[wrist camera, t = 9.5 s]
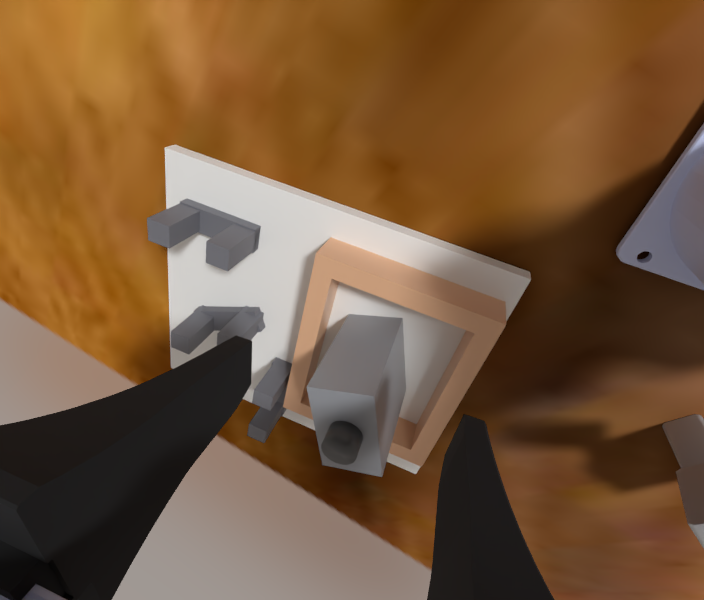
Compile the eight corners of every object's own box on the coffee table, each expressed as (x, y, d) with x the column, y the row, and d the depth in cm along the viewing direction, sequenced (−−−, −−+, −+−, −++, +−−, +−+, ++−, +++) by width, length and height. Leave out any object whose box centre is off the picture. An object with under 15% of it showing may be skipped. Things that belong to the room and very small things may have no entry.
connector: (402, 317, 21) (367, 414, 15) (406, 390, 24) (376, 496, 18) (348, 313, 22) (296, 403, 16) (357, 383, 24) (314, 482, 19)
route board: (530, 271, 19) (536, 314, 16) (417, 464, 28) (407, 515, 25) (175, 144, 21) (119, 159, 18) (177, 360, 30) (140, 395, 27)
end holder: (505, 301, 19) (506, 324, 17) (426, 440, 25) (421, 466, 23) (330, 237, 20) (315, 252, 18) (296, 385, 26) (282, 407, 25)
